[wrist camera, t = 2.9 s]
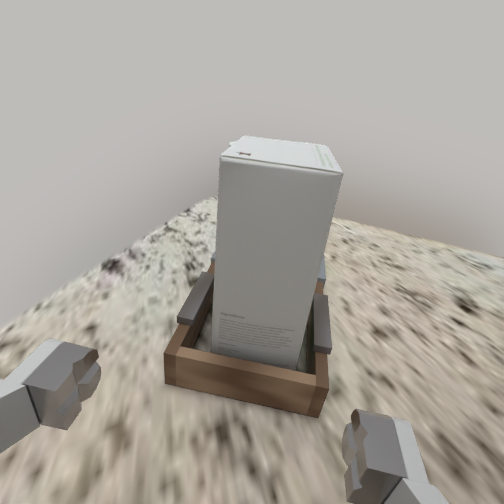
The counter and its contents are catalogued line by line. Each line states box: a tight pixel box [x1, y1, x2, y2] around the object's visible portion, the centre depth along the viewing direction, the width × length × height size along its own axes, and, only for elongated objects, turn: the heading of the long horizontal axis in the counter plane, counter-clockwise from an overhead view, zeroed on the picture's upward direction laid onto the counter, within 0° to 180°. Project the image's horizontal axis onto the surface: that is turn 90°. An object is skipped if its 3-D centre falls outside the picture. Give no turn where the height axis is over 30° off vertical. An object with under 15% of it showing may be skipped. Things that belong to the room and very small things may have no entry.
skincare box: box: [211, 136, 343, 371], centre depth 22 cm, size 8×7×16 cm
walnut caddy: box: [164, 262, 332, 418], centre depth 25 cm, size 11×12×4 cm
